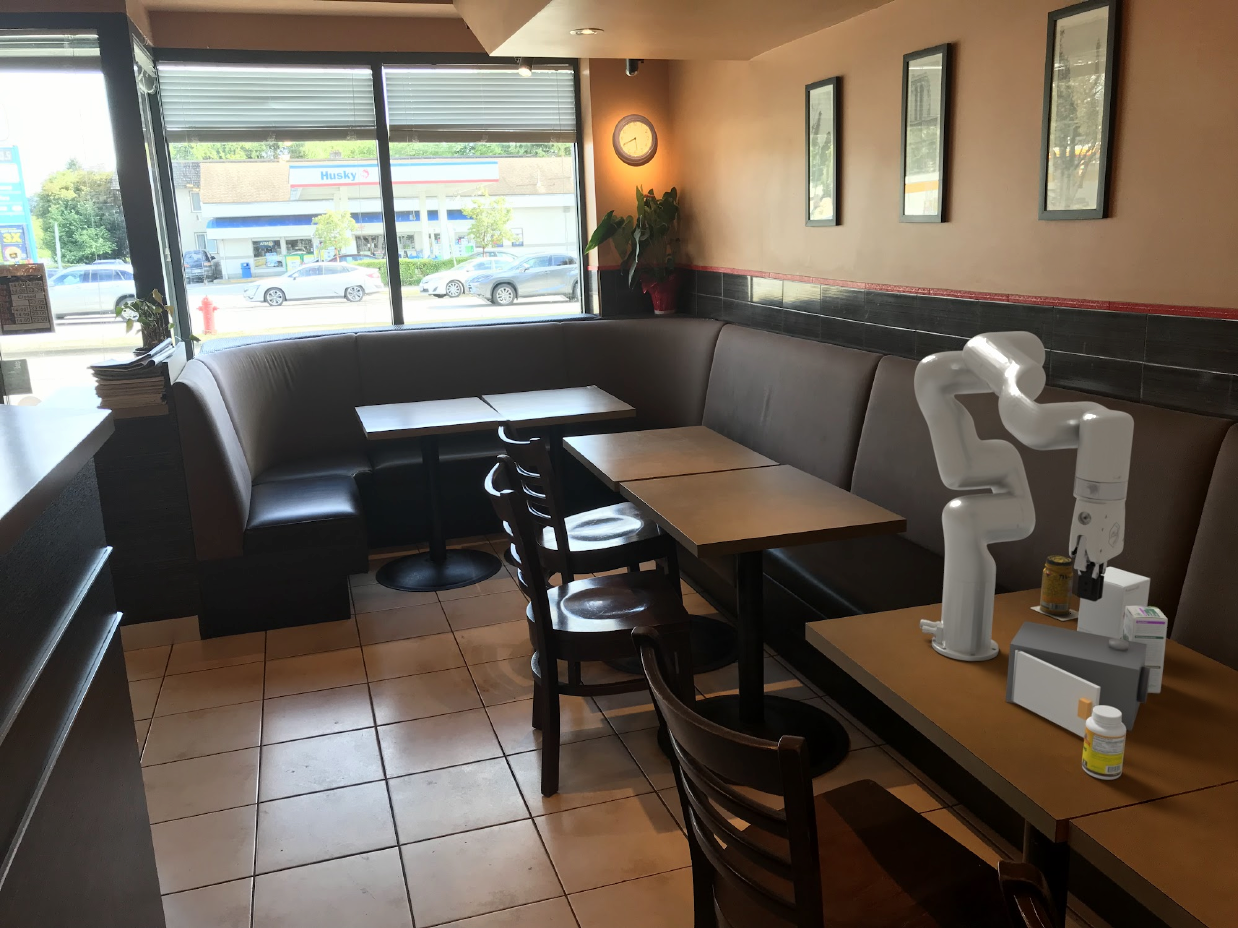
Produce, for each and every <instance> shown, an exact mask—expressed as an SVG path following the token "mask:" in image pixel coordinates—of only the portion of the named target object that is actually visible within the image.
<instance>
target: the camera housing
mask: <svg viewBox="0 0 1238 928" xmlns="http://www.w3.org/2000/svg"><path fill="white" fill-rule="evenodd" d="M1146 648H1147V644H1144V643H1138V642H1133V641H1128V640H1123V639H1117V638H1112V637H1107V636H1101V635H1096V634H1091V633H1086V632H1080V631H1077V630H1073V629H1070V628H1064V627H1060V626H1059V627H1058V626H1054V625H1048V624H1043V623H1037V622H1033V621H1027V620H1025V621H1024V622H1023V623H1022V624H1021V626H1020V627H1019V629H1018V631H1017V633H1016V634H1015V635H1014V637H1013V639H1012V640H1011V642H1010V643H1009V652H1008V654H1009V655H1008V666H1007V667H1008V668H1007V678H1006V679H1007V680H1006V691H1005V702H1007V703H1010V704H1011V703H1012V704H1015V705H1018V704H1017V703H1016V702H1014V701H1012V700H1011V698H1012V686H1013V674H1014V662H1015V650H1020V651H1022V652H1025V653H1027V654H1029V655H1031V656H1033V657H1036V658H1038V659H1040V660H1042V661H1044V662H1047V663H1049V664H1051V665H1053V666H1055V667H1058V668H1060V669H1062V670H1064V671H1066V672H1069V673H1071V674H1073V675H1075V676H1077V677H1080V678H1082V679H1084V680H1086V681H1088V682H1091V683H1093V684H1095V685H1097V686H1099V687H1101V688H1100V698H1099V705H1105V706H1110V707H1114V708H1116V709H1118V710H1119V711H1120V712H1121V713H1122V718H1121V719H1122V721H1121V722H1122V723H1123V724H1124V725H1125V727H1126V731H1130V732H1132V731H1133V727H1134V724H1135V720H1136V717H1137V714H1138V711H1139V708H1140V705H1141V703H1143V704H1147V703H1146V701H1147V699H1148V694H1149V693H1148V688H1149V680H1150V668H1148V667H1144V665H1145V657H1146Z"/></svg>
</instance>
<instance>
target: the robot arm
mask: <svg viewBox="0 0 1238 928" xmlns="http://www.w3.org/2000/svg"><path fill="white" fill-rule="evenodd" d="M1045 360H1046V350H1045V347H1044V344H1043V342H1042V340H1040V338H1039V337H1038V336H1037V335H1036V334H1033V333H1031V332H1029V331H1023V330H1021V331H1015V330H1014V331H997V332H996V331H995V332H994V331H993V332H991V331H989V332H985V333H980V334H977V335H975V336H974V337H973V336H972V338H970V339H969V340H968V341H967V342H966V344H965V345H964V346H963V349H962V350H952V351H951V350H950V351H942V352H936V353H932V354H929V355H927V356H925V357H924V358H923V359H922V360H920V361H919V363H918V365H917V366H916V369H915V372H914V377H913V379H914V381H913V385H914V386H913V387H914V394H915V399H916V402H917V404H918V407H919V409H920V411H921V413H922V415H923V417H924V419H925V422H926V423H927V426H928V430H929V434H930V438H931V443H932V448H933V452H934V456H935V461H936V464H937V468H938V469H937V470H938V473H939V476H940V480H941V481H942V483H943V485H944V486H945V487H946V488H947V489H950V490H956V491H968V490H978V489H979V490H980V489H991V490H992V491H991V492H992V493H979V494H968V495H962V496H958V497H955V498H953V499H951V500H950V501H949V502H947V504H946V505H945V506H944V507H943V509H942V515H941V522H942V523H941V524H942V529H943V537H944V539H943V540H944V568H943V569H944V571H943V572H944V573H943V585H942V587H943V589H942V602H941V603H942V604H941V617H940V618H941V619H940V620H941V621H939V620H936V621H931V620H928V619H923V618H922V619H920V622H919V628H920V629H922V633H924V634H930V635H933V636H932V638H931V646H932V649H934V651H936V652H937V653H939V654H941V655H943V656H945V657H947V658H951V659H954V660H959V661H967V662H982V661H983V662H984V661H988V660H991V659H994V658H995V657H997V655H999V649H1000V648H999V647H1000V646H999V644H998V643H997V642H996V641H995V640H993V639H992V631H993V619H994V618H993V615H994V604H995V603H994V602H995V589H996V576H997V575H996V574H997V566H996V562H995V560H994V558H993V556H992V555H991V553H990V551H989V550H988V546H987V545H989V544H994V543H1001V542H1012V541H1019V540H1020V541H1021V540H1024V539H1025V538H1027V537H1029V536H1030V535H1031V534H1032V533H1033V531H1034V529H1035V525H1036V512H1035V511H1036V510H1035V506H1034V502H1033V498H1032V493H1031V491H1030V486H1029V483H1028V482H1029V481H1028V479H1027V474H1026V470H1025V466H1024V463H1023V462H1024V461H1023V459H1022V457H1021V454H1020V452H1019V451H1018V449H1017V448H1016V446H1015V445H1013V444H1012V443H1011V442H1009V441H1007V440H1003V439H985V440H982V439H981V438H979V436H978V434H977V430H976V426H975V422H974V419H973V417H972V415H971V414H970V412H969V411H968V409H967V408H966V407H965V406H964V405H963V404H962V403H961V402H960V401H958V400H957V398H955V395H968V394H983V393H984V394H987V393H994V394H995V395H996V396H997V397H998V402H997V403H998V404H997V405H998V413H999V416H1000V419H1001V422H1002V424H1003V426H1004V428H1005V429H1006V430H1007V431H1008V432H1009V433H1010V434H1011V435H1012V436H1014V437H1015V439H1016V440H1018V441H1019V442H1020V443H1022V444H1023V445H1024V446H1025V447H1028V448H1030V449H1033V450H1038V451H1051V450H1062V449H1077V452H1076V453H1077V454H1076V455H1077V456H1076V462H1075V473H1074V482H1073V483H1074V484H1073V497H1075V498H1076V499H1075V500H1076V501H1075V505H1074V510H1073V516H1072V520H1071V526H1070V535H1069V544H1068V546H1069V547H1068V554H1069V556H1070V559H1075V560H1074V563H1073V564H1074V565H1073V568H1074V569H1075V570H1077V573H1078V579H1077V582H1078V583H1077V590H1076V591H1077V592H1076V597H1077V598H1079V599H1081V598H1082V599H1086V600H1090V601H1094V602H1096V601H1097V600H1098V599H1101V598H1102V594H1103V585H1104V576H1103V575H1104V574H1105V572H1106V568H1107V566H1108V561H1109V560H1111V559H1113V558H1115V557H1117V556H1118V555H1120V554H1122V552H1123V549H1124V546H1125V545H1124V544H1125V543H1124V542H1125V525H1126V524H1125V523H1126V522H1125V521H1126V500H1127V492H1128V482H1129V476H1130V475H1129V474H1130V466H1131V457H1132V456H1131V455H1132V446H1133V438H1134V437H1133V435H1134V429H1135V427H1134V426H1135V422H1134V418H1133V417H1132V415H1131V414H1129V413H1127V412H1125V411H1120V410H1115V409H1114V410H1113V409H1109V408H1107V407H1106V406H1104V405H1103V404H1099V403H1097V402H1093V401H1073V402H1071V401H1067V402H1066V401H1065V402H1051V403H1039V402H1036V401H1035V400H1036V399H1037V398H1038V397H1039V396H1040V394H1041V393H1042V391H1043V390H1044V387H1045V385H1046V379H1047V377H1046V372H1045V370H1044V368H1043V366H1044V363H1045ZM1101 574H1102V575H1101Z"/></svg>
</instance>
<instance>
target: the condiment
mask: <svg viewBox="0 0 1238 928" xmlns="http://www.w3.org/2000/svg"><path fill="white" fill-rule="evenodd" d="M1073 564H1074V563H1073V560H1072V558H1069V557H1068V556H1062V555H1050V556H1047V558H1046V559H1045V564H1044V566H1045V567H1044V569H1043V571H1042V578H1041V579H1042V580H1041V587H1040V588H1041V590H1040V600H1039V601H1040V602H1039V605H1037V606H1032V607H1030V609H1031V610H1034V611H1036V612H1039V613H1041V614H1044V615H1047V616H1050V617H1052V618H1054V619H1058V620H1060V621H1068V620H1073V619H1078V617H1079V611H1076V610H1074V609H1071V604H1072V603H1071V601H1072V592H1073V581H1074V573H1073ZM1069 611H1071V612H1069ZM1070 613H1071V614H1070Z"/></svg>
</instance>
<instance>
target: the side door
mask: <svg viewBox="0 0 1238 928" xmlns="http://www.w3.org/2000/svg"><path fill="white" fill-rule="evenodd" d="M1100 688H1101V687H1099V686H1097V685H1095V684H1093V683H1091V682H1088V681H1086V680H1084V679H1082V678H1080V677H1077V676H1075V675H1073V674H1071V673H1069V672H1066V671H1064V670H1062V669H1060V668H1058V667H1055V666H1053V665H1051V664H1049V663H1047V662H1044V661H1042V660H1040V659H1038V658H1036V657H1033V656H1031V655H1029V654H1027V653H1025V652H1022V651H1020V650H1015V662H1014V674H1013V686H1012V698H1011V700H1012V701H1014V702H1016V703H1017V704H1016V705H1020V706H1022V707H1023V708H1025V709H1027V710H1029V711H1031V712H1033V713H1035V714H1037V715H1039V716H1041V717H1043V718H1045V719H1047V720H1049V721H1050V722H1053V723H1055V724H1056V725H1059V726H1061V727H1062V728H1063V729H1066V730H1068V731H1070V732H1072V733H1074V734H1076V735H1078V736H1080V737H1081V738H1083V739H1084V736H1085V725H1086V720H1087V719H1088V718H1089V717H1091V716H1092V713H1093V708H1094V707H1095V706H1099V698H1100Z"/></svg>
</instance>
